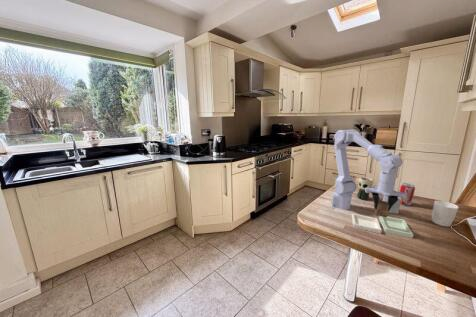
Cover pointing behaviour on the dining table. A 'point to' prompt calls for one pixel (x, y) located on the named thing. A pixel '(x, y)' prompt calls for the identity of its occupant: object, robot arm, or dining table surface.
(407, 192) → the soda can
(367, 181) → the character mug
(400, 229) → the sage tray
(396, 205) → the medicine box
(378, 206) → the walnut block
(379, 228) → the cream dish
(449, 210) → the white cup
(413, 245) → the dining table surface
